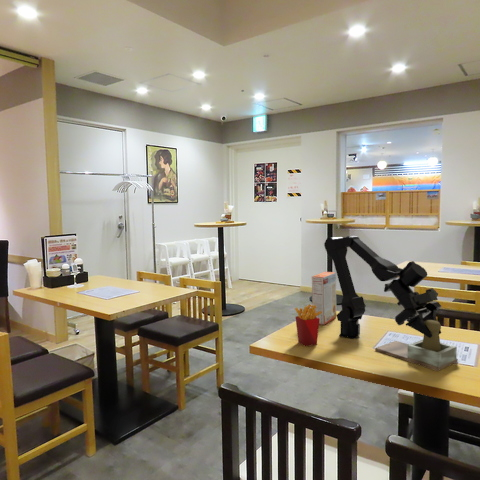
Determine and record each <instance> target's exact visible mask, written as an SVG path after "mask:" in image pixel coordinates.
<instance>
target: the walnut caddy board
mask: <svg viewBox="0 0 480 480" xmlns="http://www.w3.org/2000/svg"><path fill="white" fill-rule="evenodd" d="M422 343H423V339H420V340H417V341H415V342H413V343H405V342H402V341H399V340H394V341H391V342H389V343H385V344H382V345H380V346H377V347H375V348H374V349H375V352H378V353H382V354H384V355H388V356H389V357H390V356H391V357H393V358H394V357H395V358H396V359H400V360H403V361H406V362H409V363H412V364H415V365H418V366H421V367H424V368H427V369H430V370H434V371H436V372H439V371H441V370H442V369H446V368H447V367H449V366H451V365H453V364H455V363H458V361H459V359H458V357H457V346H454V345H451V344H447V343H443V342H440V347H441V351H439V352H435V351H431V350H428V349H424V348H422Z"/></svg>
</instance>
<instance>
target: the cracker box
mask: <svg viewBox="0 0 480 480" xmlns="http://www.w3.org/2000/svg"><path fill="white" fill-rule="evenodd" d="M311 296H312V299H311V302H312V303H311V305H313V306H314V305H315V306H316V308H315V312H316V313H317V312H319V311H322V313H321V314H319V315H318V316H316V317H317V318H319V325H322V326H325V325H326V324H329V323H330V322H331V321H333V320H334V319H337V272H336V271H335V272H332V271H323V272H320V273H318V274H315V275H313V276H311Z"/></svg>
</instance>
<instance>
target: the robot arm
mask: <svg viewBox="0 0 480 480" xmlns="http://www.w3.org/2000/svg"><path fill="white" fill-rule="evenodd" d="M323 245H324V249H325V251H326V254H327V256H328V257H329V258H330V259H331V260H332V261H333V264H334V268H335V273H336V277H337V280H338V283H339V286H340V290H341V292H342V293H341V294H342V298H341V303H340V304H341V310H340V311H339V312H338V313H336V319H337V321H339V322H340V333H339V335H338V337H342V338H347V339H348V338H350V339H357V338H358V336H360V334H361V324H360V323H359V320H362V318H363V316H364V314H365V312H366V303H365V300H364V297H363V296H362V295H360V296H359V295H358V294H357V292H356V289H355V286H354V282H353V279H352V276H351V272H350V267H349V264H348V261H347V253H348V248H349V249H351V250H352V251H353V252H354V253H355V254H356V255H357V256H358V257H360V258H361V259H362V260H363V261H364V262H365V263H366V264H367V265H368V266H369V267H370V268H371V271H372V272H371V273H373V275H374V276H375V277H376V279H377V280H378V281H380V282H387V281H390V282H388V283H385V284H384V287H383V289H384V290H383V291H384V293H387V292H391V293H392V294H393V296H394V297H395V299H396V300H397V301H398V302H397V303H396V304H397V305H398V306H401V307H402V308H403V309H402V311H400V312H399V313H398V314H396V316H395V317H394V321H395V323H396V324H397V325H398V326H402V325H404V324H405V326H407V327H410V328H411V329H413V330H415V331H417V332H419V333H421V334H423V336H424V335H426V336H427V337H429V338H431V337H432V334H431V332H430V331H429V329H428V327H427V326H426V324H425V323H424V321H426V320H435V321H438V319H437V312H438V310H439V309H441V308H442V305H441V304H440V302H439V301H438V295H439V292H437V290H435V289H434V288H433V287H431V288H429V289H425V292H423V293H419V292H417V291H414V290H413V289H412V288H414V287H416V286H418V285H419V284H420V283H421V282H422V281H423V280H425V279H426V278H427V276H428V272H427V270H426V268H424V267H422V266H421V265H420V264H417V263H416V262H415V261H413V260H410V261H409V262H408V263H407V264H406V266H404V267H403V268H401V267H398V265H397V264H395V263H394V262H392V261H390V260H388V259H385V258H383V257H381V256H380V255H379V254H377V253H376V252H375V251H374V250H373V249H372V248H370V247H369V246H368V245H367V244H366V243H364V242H363V241H362V240H361V239H360V237H359V236H357V235H348V236H344V237H342V236H333V237H327V238H326V240H325V242H324V243H323ZM406 321H407V322H406ZM405 322H406V323H405ZM441 334H442V331H441V329H440V331H439V335H441Z"/></svg>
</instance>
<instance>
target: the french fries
mask: <svg viewBox="0 0 480 480" xmlns="http://www.w3.org/2000/svg"><path fill="white" fill-rule="evenodd" d="M315 308H316V306H315V305H314V306H313V305H312V304H311V303H309V304H308V305H305V306H304V308H302V307H300V308H298V307H295V308H294V310H295V311H296V314H297V316H295V322H296V323H295V325H296V333H297V340H298V344H299V345H302V346H303V347H311V346H317V345H318V338H319V337H318V335H319V329H320V328H319V326H320V324H319V318H317V317H316V316H318V315H319V314H321V313H322V311H319V312H317V313H316V312H315Z"/></svg>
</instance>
